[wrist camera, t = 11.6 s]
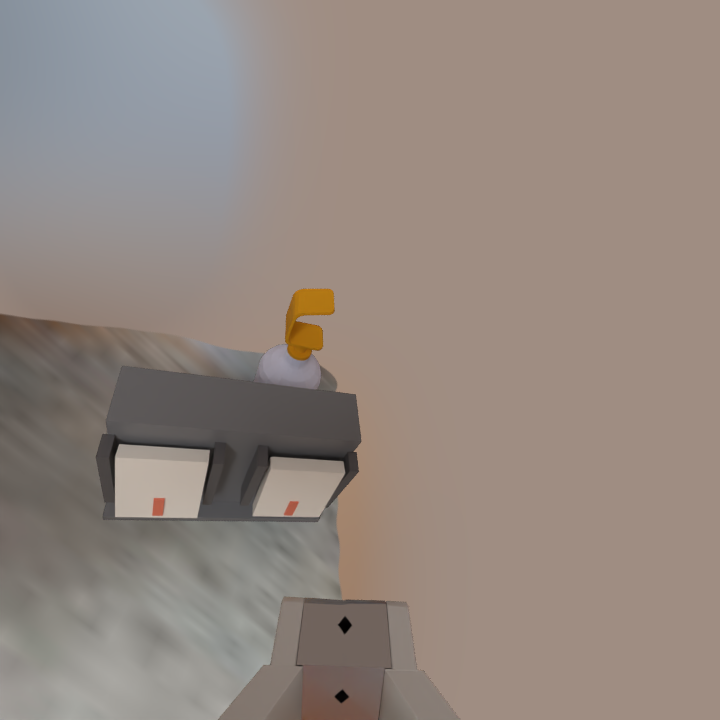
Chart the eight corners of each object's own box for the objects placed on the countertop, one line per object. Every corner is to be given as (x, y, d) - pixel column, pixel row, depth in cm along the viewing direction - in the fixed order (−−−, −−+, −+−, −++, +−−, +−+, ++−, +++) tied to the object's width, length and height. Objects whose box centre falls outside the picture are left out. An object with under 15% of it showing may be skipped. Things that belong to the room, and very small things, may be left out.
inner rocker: (114, 518, 44) (114, 459, 38) (118, 504, 45) (119, 444, 39) (196, 519, 46) (208, 464, 41) (198, 505, 48) (209, 450, 42)
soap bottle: (303, 434, 66) (360, 333, 49) (244, 427, 63) (281, 317, 46) (303, 387, 72) (354, 280, 54) (249, 379, 69) (284, 263, 51)
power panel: (102, 522, 49) (84, 443, 35) (123, 442, 56) (115, 347, 41) (317, 524, 58) (372, 462, 44) (314, 455, 65) (362, 381, 50)
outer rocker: (252, 517, 49) (270, 471, 43) (252, 504, 50) (270, 456, 44) (319, 518, 52) (345, 475, 45) (317, 505, 53) (343, 461, 47)
